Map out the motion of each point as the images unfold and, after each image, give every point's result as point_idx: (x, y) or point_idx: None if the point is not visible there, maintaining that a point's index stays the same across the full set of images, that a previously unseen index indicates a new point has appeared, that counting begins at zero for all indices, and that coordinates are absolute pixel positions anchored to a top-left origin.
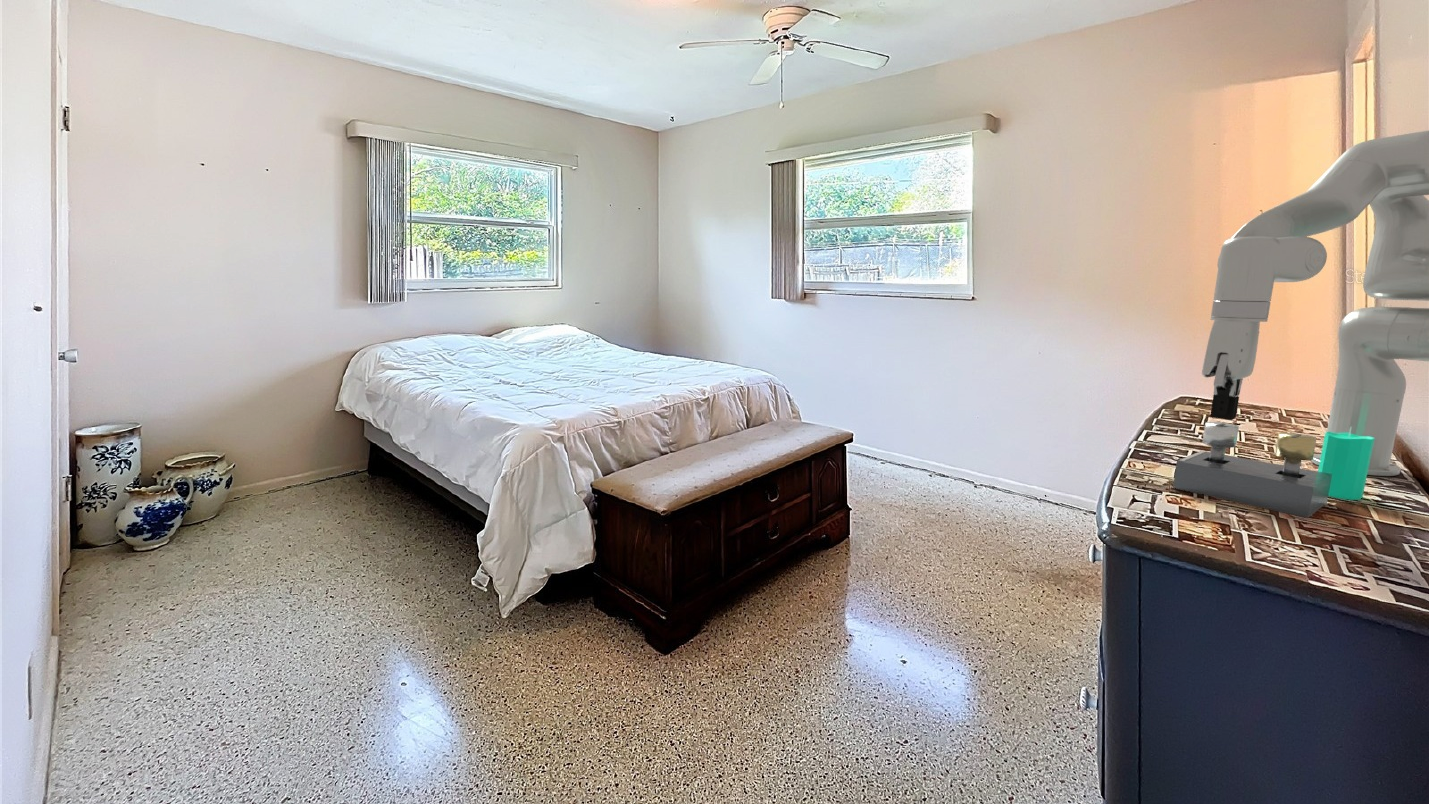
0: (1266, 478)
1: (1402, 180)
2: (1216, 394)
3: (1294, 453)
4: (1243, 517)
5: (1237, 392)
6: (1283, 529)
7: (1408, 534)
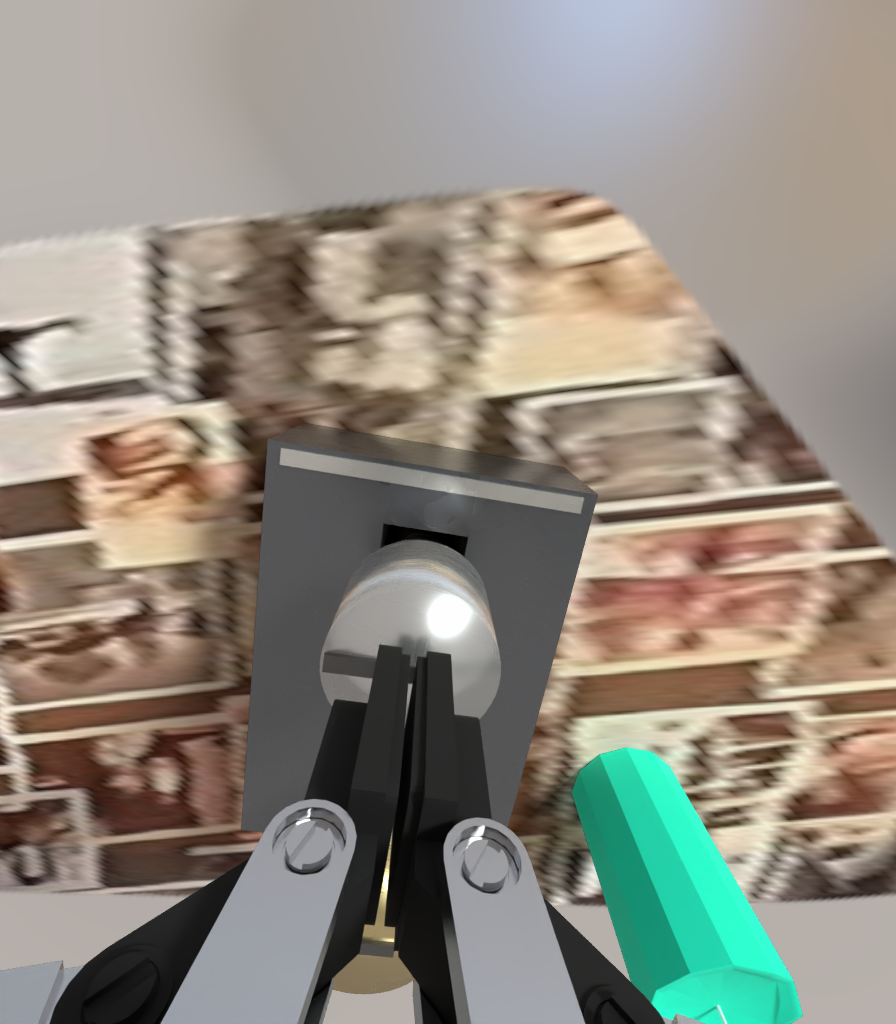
0: (249, 726)
1: None
2: (284, 829)
3: None
4: (130, 631)
5: (415, 992)
6: (106, 711)
7: None
